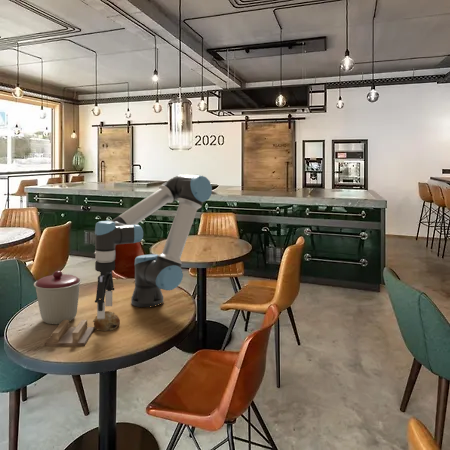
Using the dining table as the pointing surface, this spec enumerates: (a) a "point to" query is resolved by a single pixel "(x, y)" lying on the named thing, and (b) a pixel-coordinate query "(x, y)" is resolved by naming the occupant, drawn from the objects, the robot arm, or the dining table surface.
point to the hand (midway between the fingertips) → (105, 311)
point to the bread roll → (107, 322)
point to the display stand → (70, 334)
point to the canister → (58, 297)
